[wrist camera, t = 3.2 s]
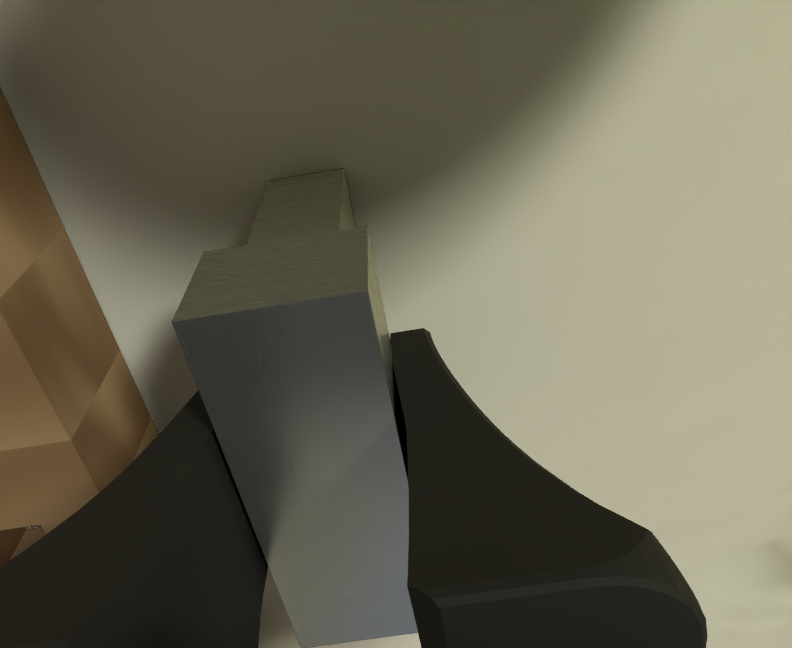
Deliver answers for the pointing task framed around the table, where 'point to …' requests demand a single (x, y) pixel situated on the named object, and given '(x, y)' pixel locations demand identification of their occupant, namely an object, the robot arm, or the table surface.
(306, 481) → the grey block
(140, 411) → the brown slotted holder
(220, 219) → the table surface
